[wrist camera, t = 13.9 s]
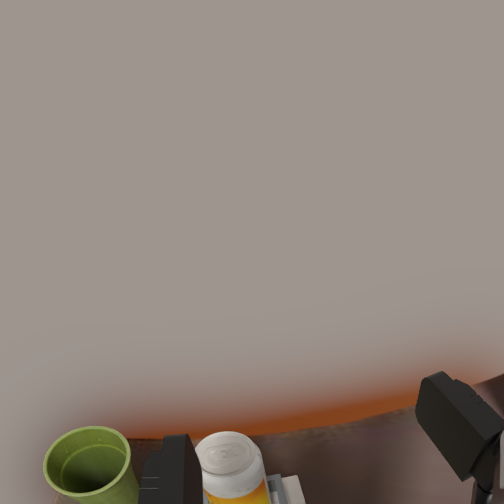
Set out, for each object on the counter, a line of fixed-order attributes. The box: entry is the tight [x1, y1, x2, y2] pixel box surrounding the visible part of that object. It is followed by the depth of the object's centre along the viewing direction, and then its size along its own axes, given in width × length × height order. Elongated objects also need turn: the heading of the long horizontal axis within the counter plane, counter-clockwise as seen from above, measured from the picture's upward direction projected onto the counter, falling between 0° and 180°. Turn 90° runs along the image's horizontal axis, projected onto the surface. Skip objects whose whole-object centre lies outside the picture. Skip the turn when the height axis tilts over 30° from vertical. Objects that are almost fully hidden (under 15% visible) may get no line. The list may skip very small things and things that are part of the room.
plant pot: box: [43, 426, 140, 504], centre depth 29 cm, size 12×12×11 cm
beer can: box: [195, 431, 272, 504], centre depth 25 cm, size 6×6×15 cm
